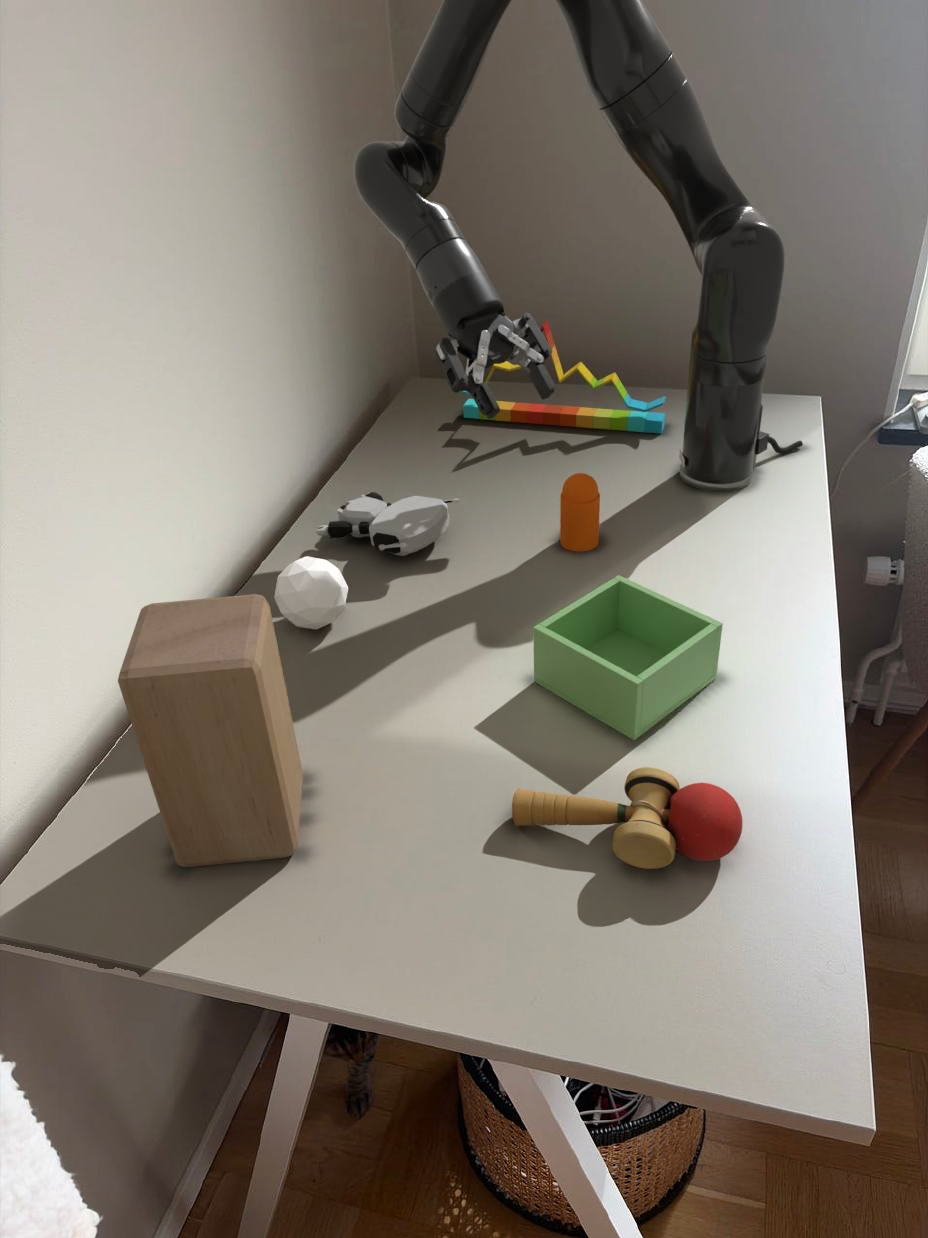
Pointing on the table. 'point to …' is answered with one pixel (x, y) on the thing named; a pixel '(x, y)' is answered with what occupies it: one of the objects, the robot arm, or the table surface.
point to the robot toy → (391, 522)
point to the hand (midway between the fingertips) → (522, 405)
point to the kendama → (646, 818)
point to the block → (215, 728)
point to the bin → (626, 655)
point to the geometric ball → (311, 592)
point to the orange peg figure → (579, 513)
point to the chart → (575, 414)
